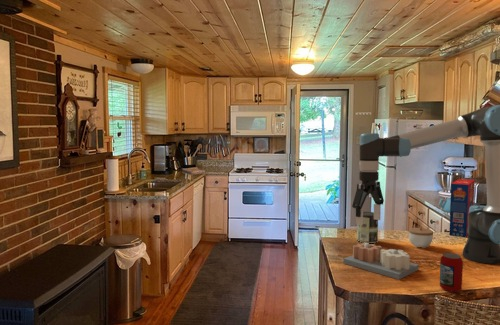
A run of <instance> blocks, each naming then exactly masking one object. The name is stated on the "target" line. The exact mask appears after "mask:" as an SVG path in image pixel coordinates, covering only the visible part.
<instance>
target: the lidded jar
mask: <svg viewBox="0 0 500 325" xmlns="http://www.w3.org/2000/svg"><path fill="white" fill-rule="evenodd" d="M408 238H409V241H410V243H411V244H412V245H414V246H416V247H415V248H417V247H422V248H421V249H425V248H424V247H427V248H428V247H429V246H430V245H431V244H432V242H433V239H434V231H433V230H431V229H428V228H423V227H422V226H420V227H411V228H409V229H408Z"/></svg>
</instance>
